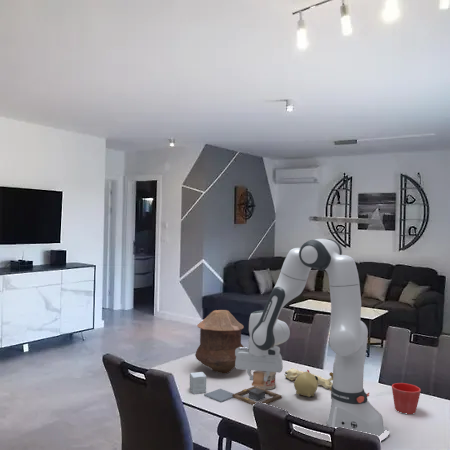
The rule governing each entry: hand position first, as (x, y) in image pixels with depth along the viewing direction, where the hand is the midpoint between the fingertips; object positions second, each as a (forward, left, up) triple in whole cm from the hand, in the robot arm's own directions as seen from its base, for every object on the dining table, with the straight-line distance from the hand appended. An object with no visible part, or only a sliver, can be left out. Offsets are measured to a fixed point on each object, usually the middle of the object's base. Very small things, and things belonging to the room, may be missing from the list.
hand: (258, 380), depth 200 cm
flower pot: (-49, -34, -8) cm, 60 cm away
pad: (+13, +10, -8) cm, 18 cm away
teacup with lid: (+7, -15, -8) cm, 18 cm away
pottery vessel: (+36, -14, -8) cm, 39 cm away
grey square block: (+1, 0, -8) cm, 7 cm away
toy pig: (-12, -18, -8) cm, 23 cm away
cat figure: (-5, -31, -8) cm, 33 cm away
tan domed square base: (0, 0, -2) cm, 2 cm away
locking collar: (+1, 0, -8) cm, 7 cm away
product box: (+24, +13, -8) cm, 28 cm away
